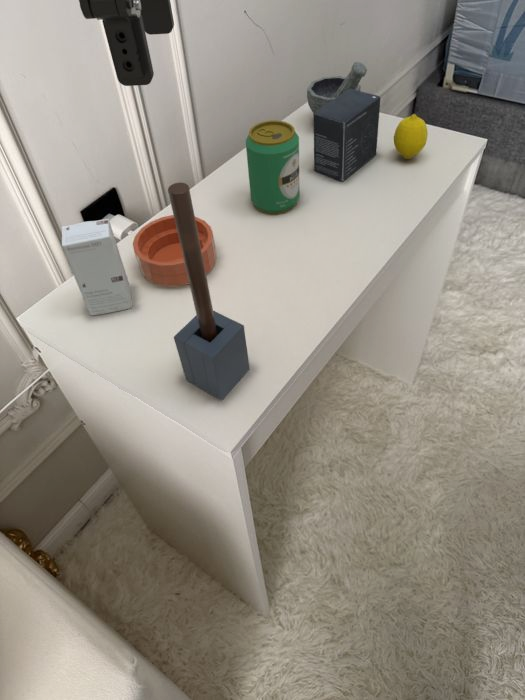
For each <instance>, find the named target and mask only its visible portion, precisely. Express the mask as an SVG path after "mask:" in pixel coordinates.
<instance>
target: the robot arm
mask: <svg viewBox="0 0 525 700" xmlns="http://www.w3.org/2000/svg"><path fill="white" fill-rule="evenodd" d="M78 2H79V7H80V11H81V13H82V15H83V17H84V19H86V20H92V19H93V20H94V19H96V20H97V21H101V22H102V26H103V29H104V33H105V37H106V40H107V45H108V49H109V52H110V57H111V60H112V64H113V67H114V71H115V73H116V74H115V75H116V78H117V81H118V83H119V84H120V85H122V86H123V87H134V86H136V87H137V86H148V85H150V84H151V83H152V81H153V78H154V76H155V75H154V74H155V73H154V67H153V62H152V58H151V54H150V48H149V44H148V39H147V35H149V36H151V35H168V34H170V33H172V31H173V29H174V26H175V21H174V15H173V9H172V3H171V0H78ZM146 34H147V35H146Z"/></svg>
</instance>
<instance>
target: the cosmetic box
mask: <svg viewBox="0 0 525 700" xmlns="http://www.w3.org/2000/svg"><path fill="white" fill-rule="evenodd" d="M115 237H116V236H115V233H114V231H113V229H112V224H111V220H110V219H109V218H104V219H98V220H88V221H82V222H79V223H73V224H69V225H62V226H61V248H62V251H63V253H64V255H65V257H66V260H67V263H68V265H69V268H70V270H71V272H72V274H73V277H74V279H75V282H76V284H77V286H78V289H79V292H80V294H81V296H82V299H83V301H84V303H85V306H86V308H87V310H88V314H89V315H90V316H98V315H99V316H100V315H103V314H104V315H105V314H110V313H111V314H112V313H114V312H115V313H116V312H121V311H125V310H129V309H131V308H133V302H132V300H133V299H132V288H131V285H130V282H129V279H128V276H127V273H126V269H125V266H124V263H123V260H122V257H121V253H120V250H119V246H118V244H117V241H116V240H117V239H116V238H115Z"/></svg>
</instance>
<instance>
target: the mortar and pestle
mask: <svg viewBox="0 0 525 700" xmlns="http://www.w3.org/2000/svg"><path fill="white" fill-rule="evenodd" d="M367 72H368V68H367V67H366V65H365V64H364V63H363V62H360V61H355V62H353V64H352V66H351V70H350V71H349V72H348V74H347V75H346V77H345V76H341V75H337V76H323V77H321V78H318V79H316V80H313V81H311V82H310V83H309V85H308V87H307V88H306V98H307V104H308V107H309V109H310V110H311V112H312V114H313V113H314V112H316V111H317V110H319V109H320V108H322V107H323V106H325V105H326V104H328V103H329V102H331V101H332V100H334V99H335V98H337V97H338V96H340V95H341V94H343V93H344V92H346V91H347V90H348V89H353V90H357V91H361V89H362V88H361V87H362V86H361V85H360V84H359V83H360V82H361V80H362V78H363V77H365V76H366V74H367Z"/></svg>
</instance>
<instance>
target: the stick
mask: <svg viewBox="0 0 525 700" xmlns="http://www.w3.org/2000/svg"><path fill="white" fill-rule="evenodd" d="M167 193H168V197H169V198H168V199H169V202H170V207H171V211H172V215H174V219H175V224H176V228H177V232H178V237H179V241H180V245H181V250H182V254H183V258H184V263H185V267H186V271H187V276H188V280H189V289H190V292H191V293H190V294H191V296H192V302H193V305H194V310H195V314H196V315H197V319H198V323H199V328H200V332H201V336H202V339H204V340H206V341H208V342H211V341H212V340H213V339H214V338H215V337H216V336H217V335H218V334H217V328H216V323H215V318H214V313H213V311H214V308H213V303H212V298H211V293H210V289H209V281H208V278H207V274H206V272H205V267H204V262H203V257H202V251H201V246H200V241H199V236H198V231H197V226H196V221H195V217H196V215H195V211H194V206H193V202H192V196H191V190H190V186H189V185H188V184H187V183H185V182H175V183H172V184H170V185H169V186H168V187H167ZM196 315H195V316H196Z"/></svg>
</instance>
